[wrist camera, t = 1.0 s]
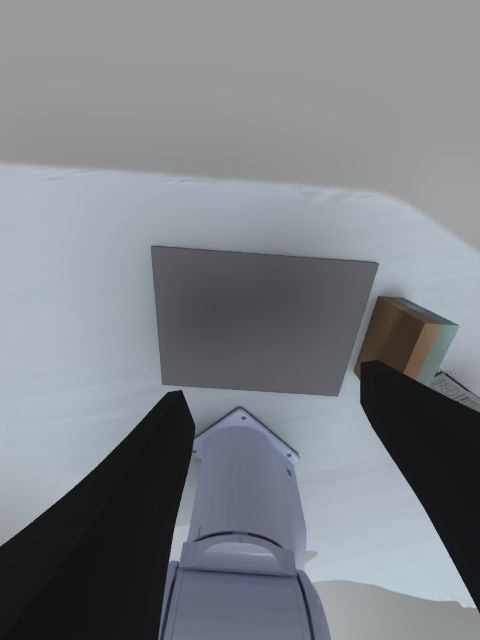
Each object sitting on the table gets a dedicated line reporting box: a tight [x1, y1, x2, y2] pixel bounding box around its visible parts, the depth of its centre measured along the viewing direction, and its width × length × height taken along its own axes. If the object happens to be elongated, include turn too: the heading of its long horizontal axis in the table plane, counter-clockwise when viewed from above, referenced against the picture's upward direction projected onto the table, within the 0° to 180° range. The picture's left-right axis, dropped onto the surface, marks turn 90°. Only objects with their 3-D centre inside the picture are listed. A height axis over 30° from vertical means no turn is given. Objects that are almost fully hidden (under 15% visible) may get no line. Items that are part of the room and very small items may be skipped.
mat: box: [151, 246, 379, 396], centre depth 19 cm, size 16×12×1 cm
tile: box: [354, 296, 459, 387], centre depth 17 cm, size 2×7×5 cm, turn 176°
